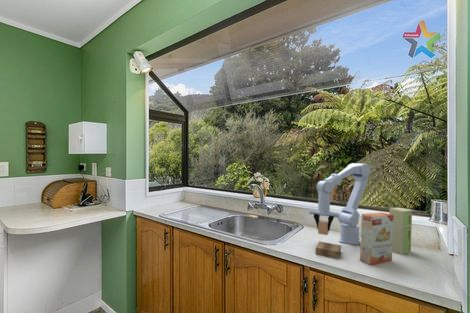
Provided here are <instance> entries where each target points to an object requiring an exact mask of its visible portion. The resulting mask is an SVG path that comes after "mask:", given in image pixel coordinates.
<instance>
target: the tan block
mask: <svg viewBox="0 0 470 313" xmlns="http://www.w3.org/2000/svg"><path fill="white" fill-rule="evenodd" d="M329 232H330V230H329V231H328V220H320V219H319V222H318V229H317V233H318V234H319V235H325V236H328V234H329Z"/></svg>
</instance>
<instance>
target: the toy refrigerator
mask: <svg viewBox="0 0 470 313" xmlns="http://www.w3.org/2000/svg"><path fill="white" fill-rule="evenodd" d="M388 212H389V213H388V214H392V215H394V218H393V242H392V252H394V253H397V254H400V255H406V254H409V253H411V252H412V228H413V227H412V222H413V221H412V219H413V209H411V208H410V209H409V208H404V207H391V208H389V211H388Z"/></svg>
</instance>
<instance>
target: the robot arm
mask: <svg viewBox="0 0 470 313" xmlns="http://www.w3.org/2000/svg"><path fill="white" fill-rule="evenodd" d="M371 171H372V170H371V167H370V165H369V164H368V163H360V162H359V163H357V162H356V163H355V162H351V163H349V164H347V166H346V167H345V168H343V169H342V170H341V171H340V172H338V173H331V174H330V176H328V177H327V178H324V179H323V180H319V181H318V182H317V184H316V185H315V188H316V191H317V194H318V195H317V196H318V199H317V201H318V202H317V205H318V206H317V208H318V209H317V210H313V209H309V215H312V216H313V218H314V221H315V224H316V229H317V230H318V222H319V221H320V217H321V216H324V217H327V221H328V231H329V232H330V230H331V226H332V223H333V220H334V219H335V218H337V221H338V222H339V224H340V237H339V239H338V240H339V241H338V242H339V243H344V244H349V245H356V246H359V245H360V244H359V243H360V242H361V237H360V226H358V224H359V222H360V216H361V215H360V213H359V212H358V208H359V205H360V202H361V200H362V197H363V195H364V192H365V190H366V187H367V184H368V182H369V177H370V174H371ZM350 175H351V177H352V178H353V179H354V180H355V183H354V186H353V189H352V190H351V194H350V196H349V198H348V200H347V204H346V206H344V207H342V208H341V210H340V211H339V213H337V212H332V211H331V210H330V209H331V205H330V204H331V201H330V200H331V192H333V189H334V188H335V187H337V186H339V185H340V184H341V183H342V180H344V179H345V178H347V177H348V176H350Z"/></svg>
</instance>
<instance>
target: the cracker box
mask: <svg viewBox="0 0 470 313" xmlns="http://www.w3.org/2000/svg"><path fill="white" fill-rule="evenodd" d="M393 218H394V215H392V214H389V213H387V212H382V211H381V212H372V213H371V212H370V213H362V214H361V220H360V222H361V224H360V225H361V226H360V250H359V251H360V252H359V253H360V255H359V260H360V262H361V261H362V262H364V263H365V264H368V265H370V266H372V265H376V264H382V263H387V262H391V261H393V251H392V242H393Z"/></svg>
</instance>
